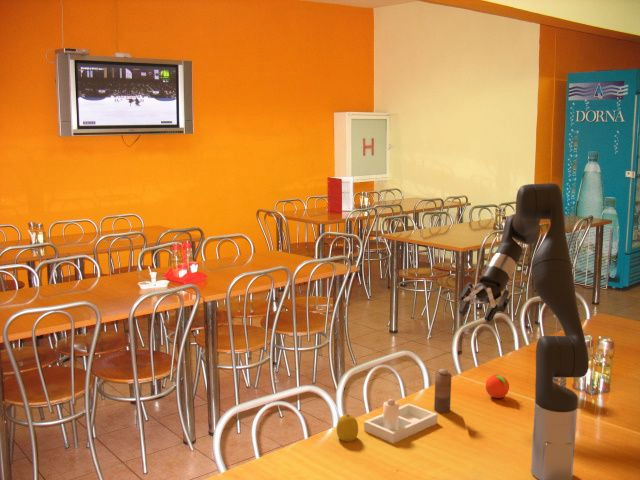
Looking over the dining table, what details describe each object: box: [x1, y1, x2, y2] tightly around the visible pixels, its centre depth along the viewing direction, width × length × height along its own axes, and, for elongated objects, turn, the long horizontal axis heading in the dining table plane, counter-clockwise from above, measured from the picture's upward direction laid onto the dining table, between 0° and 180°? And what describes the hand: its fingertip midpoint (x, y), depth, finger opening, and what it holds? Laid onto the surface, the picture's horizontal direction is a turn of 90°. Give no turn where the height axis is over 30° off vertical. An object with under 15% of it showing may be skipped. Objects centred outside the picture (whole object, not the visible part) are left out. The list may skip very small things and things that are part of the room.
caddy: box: [363, 403, 439, 444], centre depth 182 cm, size 18×10×4 cm, turn 133°
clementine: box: [485, 374, 510, 399], centre depth 205 cm, size 8×7×7 cm
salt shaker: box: [382, 398, 400, 431], centre depth 178 cm, size 4×4×9 cm
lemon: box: [336, 413, 359, 443], centre depth 175 cm, size 6×6×8 cm
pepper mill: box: [433, 368, 452, 414], centre depth 192 cm, size 4×4×13 cm
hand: (473, 317), depth 196 cm, fingers open, 8 cm apart
